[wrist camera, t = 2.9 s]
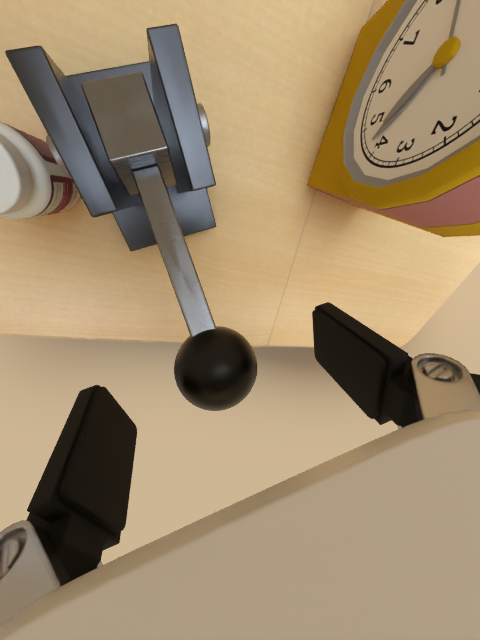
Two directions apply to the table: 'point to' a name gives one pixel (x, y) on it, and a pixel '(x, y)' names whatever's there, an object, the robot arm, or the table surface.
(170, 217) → the switch lever
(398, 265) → the table surface
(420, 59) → the alarm clock
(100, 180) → the switch bracket
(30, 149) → the pill bottle
